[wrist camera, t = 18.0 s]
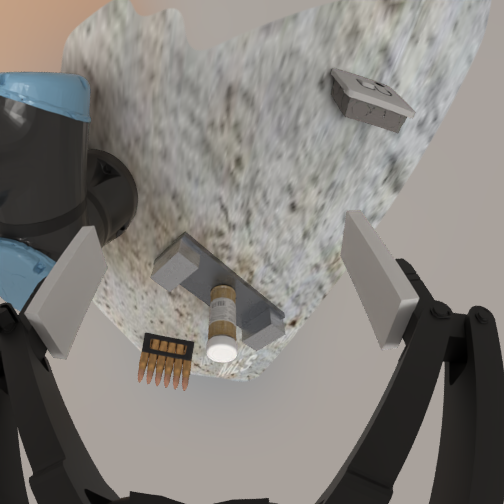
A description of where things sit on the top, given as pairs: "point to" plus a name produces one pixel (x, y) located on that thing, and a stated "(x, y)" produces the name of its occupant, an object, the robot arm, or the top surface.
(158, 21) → the top surface
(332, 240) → the top surface
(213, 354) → the sprinkles bottle
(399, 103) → the electrical switch
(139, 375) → the ammunition clip
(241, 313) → the rail
